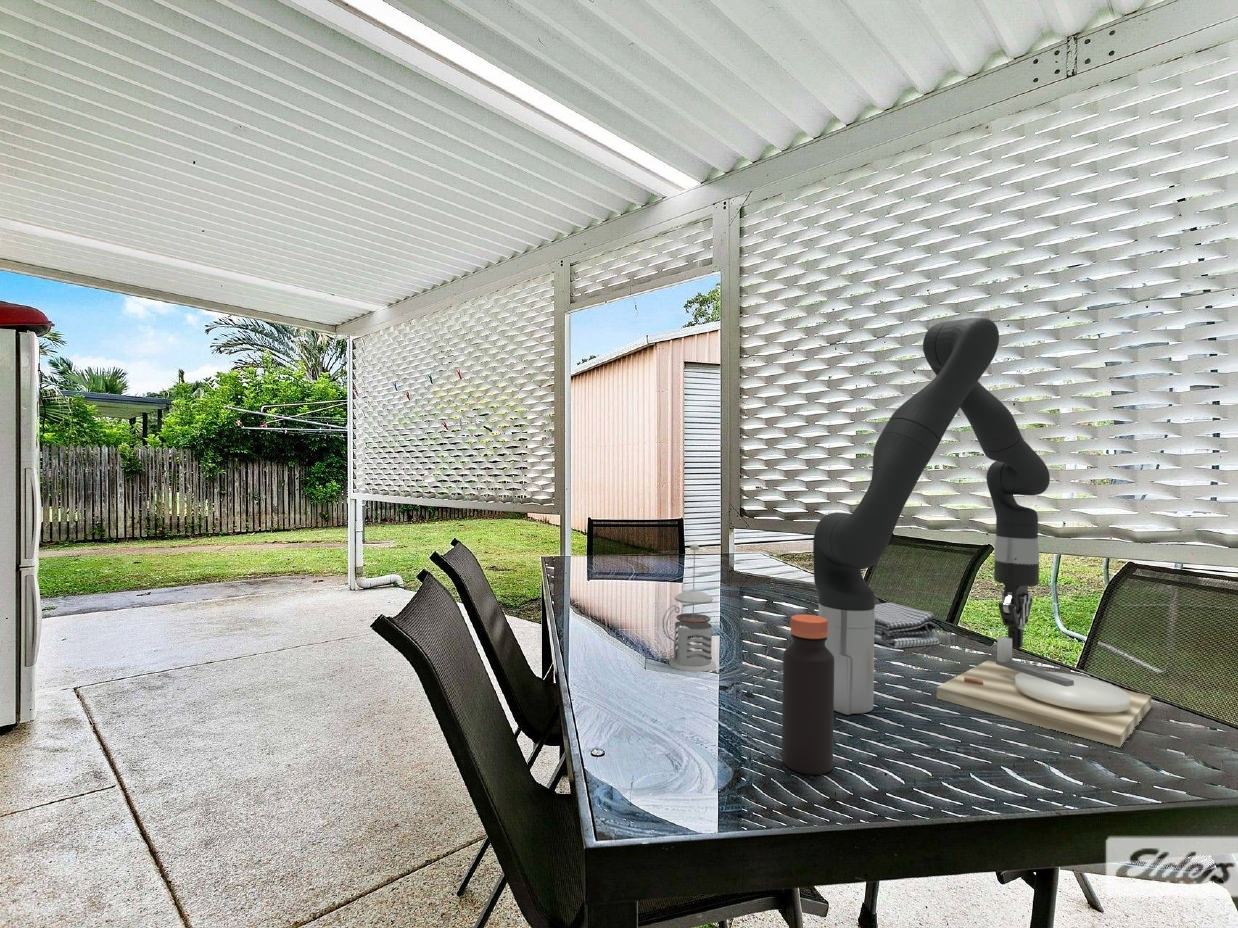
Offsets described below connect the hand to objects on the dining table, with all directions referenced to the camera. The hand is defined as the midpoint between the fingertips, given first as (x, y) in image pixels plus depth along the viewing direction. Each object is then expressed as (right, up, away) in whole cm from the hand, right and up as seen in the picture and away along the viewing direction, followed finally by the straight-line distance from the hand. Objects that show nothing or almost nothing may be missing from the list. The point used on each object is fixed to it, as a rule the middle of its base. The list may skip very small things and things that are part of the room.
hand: (1015, 646), depth 122 cm
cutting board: (-3, -6, -13) cm, 14 cm away
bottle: (-53, -5, -38) cm, 65 cm away
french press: (-64, -6, +6) cm, 65 cm away
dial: (-2, -4, -14) cm, 14 cm away
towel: (-12, -7, +30) cm, 33 cm away
